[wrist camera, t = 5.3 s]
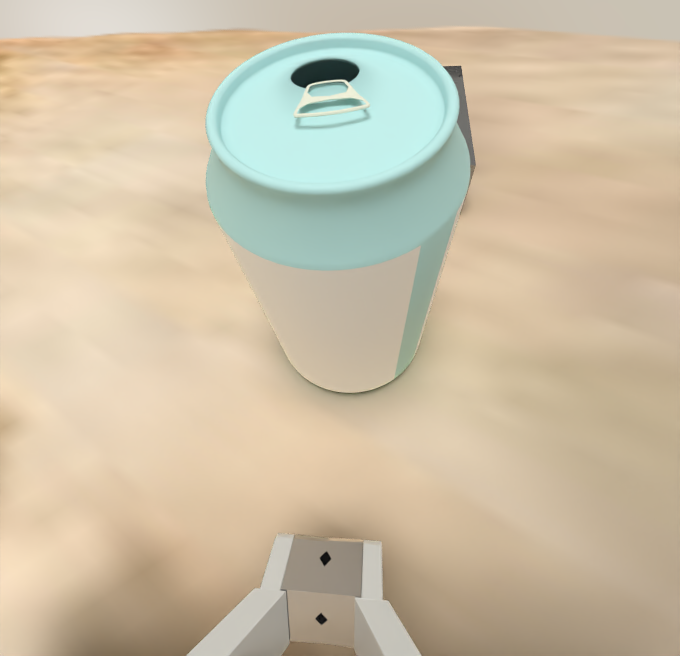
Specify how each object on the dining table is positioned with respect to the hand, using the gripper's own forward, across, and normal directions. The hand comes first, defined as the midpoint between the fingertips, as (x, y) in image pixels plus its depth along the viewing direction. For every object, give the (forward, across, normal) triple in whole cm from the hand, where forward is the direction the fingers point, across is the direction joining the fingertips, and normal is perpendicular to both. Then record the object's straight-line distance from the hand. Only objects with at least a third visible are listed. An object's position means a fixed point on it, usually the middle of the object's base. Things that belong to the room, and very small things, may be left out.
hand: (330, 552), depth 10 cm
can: (+10, 0, -3) cm, 11 cm away
